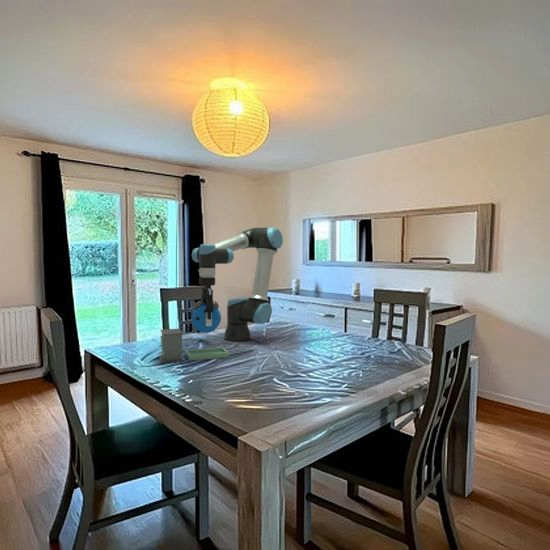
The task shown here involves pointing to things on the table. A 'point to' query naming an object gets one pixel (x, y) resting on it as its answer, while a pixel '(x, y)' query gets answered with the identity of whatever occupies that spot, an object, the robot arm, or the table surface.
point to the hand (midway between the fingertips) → (206, 324)
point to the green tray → (206, 353)
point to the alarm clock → (200, 317)
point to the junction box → (171, 346)
